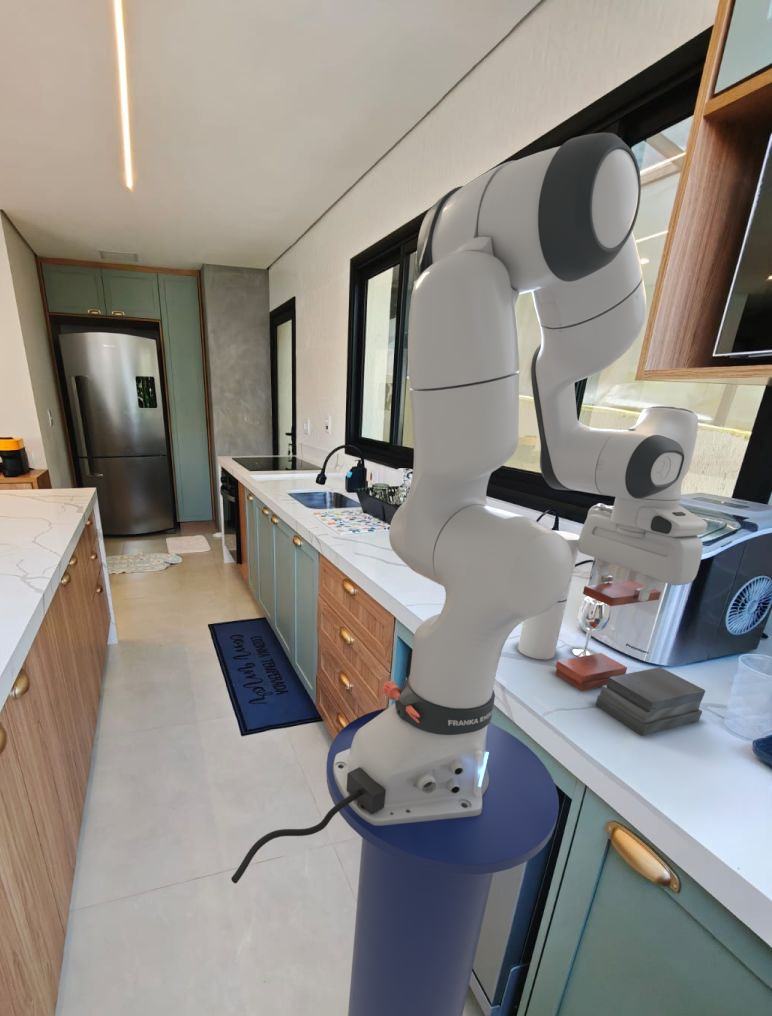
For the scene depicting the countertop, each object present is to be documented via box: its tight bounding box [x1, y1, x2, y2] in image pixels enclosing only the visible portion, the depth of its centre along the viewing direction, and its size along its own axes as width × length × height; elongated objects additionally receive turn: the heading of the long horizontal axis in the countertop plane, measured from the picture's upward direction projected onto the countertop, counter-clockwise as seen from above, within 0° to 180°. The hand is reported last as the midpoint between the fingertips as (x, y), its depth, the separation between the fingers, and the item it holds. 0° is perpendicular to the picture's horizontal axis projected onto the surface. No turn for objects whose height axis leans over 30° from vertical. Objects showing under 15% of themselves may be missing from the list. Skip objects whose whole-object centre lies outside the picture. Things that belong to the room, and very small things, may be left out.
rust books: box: [555, 652, 628, 692], centre depth 95 cm, size 11×6×3 cm, turn 110°
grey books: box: [595, 666, 706, 737], centre depth 84 cm, size 13×9×6 cm
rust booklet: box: [582, 580, 662, 607], centre depth 87 cm, size 11×6×2 cm, turn 110°
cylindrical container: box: [517, 529, 580, 660], centre depth 101 cm, size 7×7×25 cm
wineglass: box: [572, 596, 612, 657], centre depth 103 cm, size 6×6×12 cm
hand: (621, 592), depth 87 cm, fingers closed on rust booklet, 6 cm apart
